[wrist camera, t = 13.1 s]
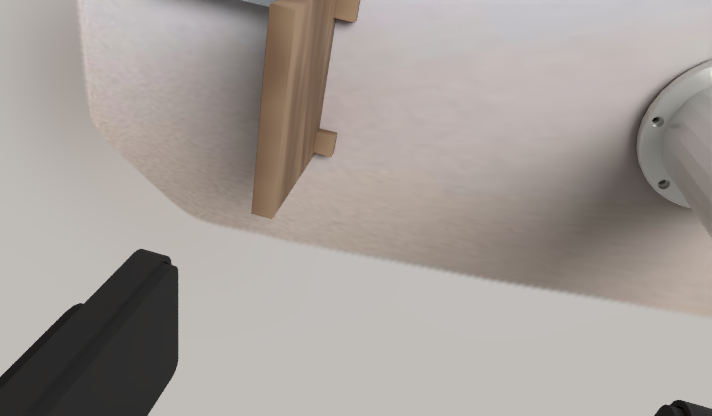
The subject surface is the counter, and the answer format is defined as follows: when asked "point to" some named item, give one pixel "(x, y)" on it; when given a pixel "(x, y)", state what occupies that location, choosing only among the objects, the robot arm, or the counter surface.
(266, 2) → the slate dish
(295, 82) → the walnut board
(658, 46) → the counter surface
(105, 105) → the counter surface
